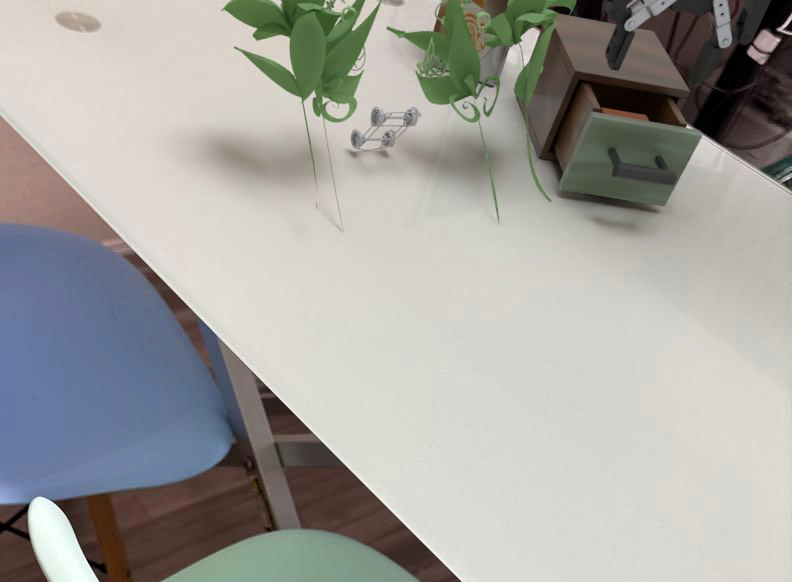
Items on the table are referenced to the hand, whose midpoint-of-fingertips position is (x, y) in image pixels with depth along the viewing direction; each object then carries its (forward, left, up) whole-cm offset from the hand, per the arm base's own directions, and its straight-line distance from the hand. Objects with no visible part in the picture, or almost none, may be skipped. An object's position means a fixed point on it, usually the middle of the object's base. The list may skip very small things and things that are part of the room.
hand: (653, 74), depth 96 cm
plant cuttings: (+24, +6, -12) cm, 28 cm away
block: (0, 0, -10) cm, 10 cm away
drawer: (0, 0, -11) cm, 11 cm away
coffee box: (+12, -24, -12) cm, 29 cm away
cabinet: (0, -11, -12) cm, 16 cm away
